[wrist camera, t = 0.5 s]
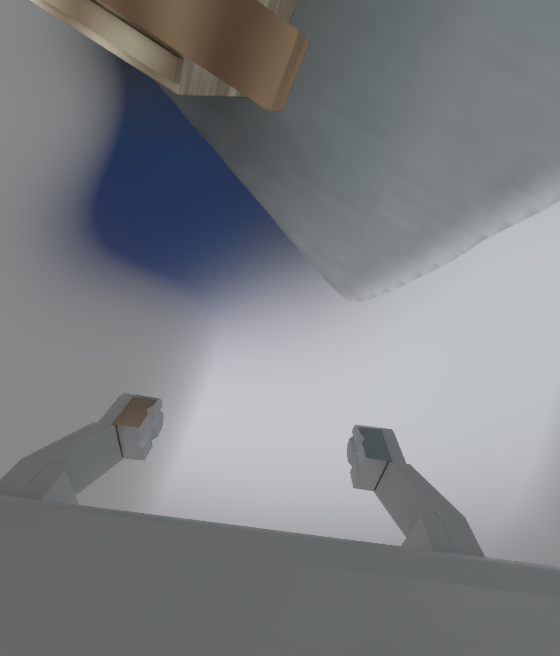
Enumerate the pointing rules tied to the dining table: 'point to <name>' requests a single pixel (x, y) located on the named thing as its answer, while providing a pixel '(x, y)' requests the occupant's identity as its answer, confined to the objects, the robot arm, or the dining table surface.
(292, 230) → the dining table surface
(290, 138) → the dining table surface
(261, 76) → the rail bar
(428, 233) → the dining table surface
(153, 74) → the slotted stand
